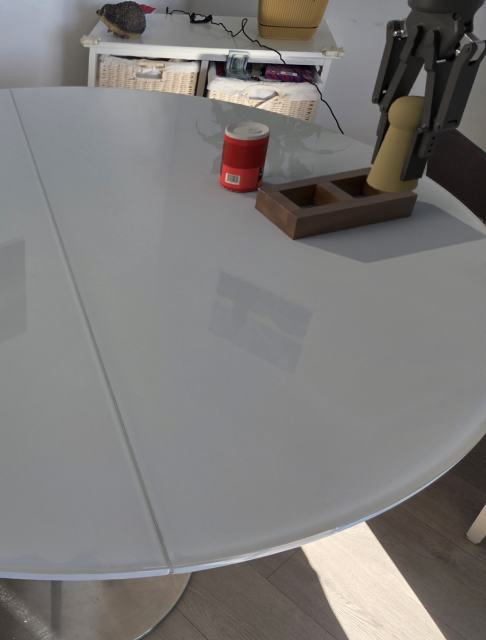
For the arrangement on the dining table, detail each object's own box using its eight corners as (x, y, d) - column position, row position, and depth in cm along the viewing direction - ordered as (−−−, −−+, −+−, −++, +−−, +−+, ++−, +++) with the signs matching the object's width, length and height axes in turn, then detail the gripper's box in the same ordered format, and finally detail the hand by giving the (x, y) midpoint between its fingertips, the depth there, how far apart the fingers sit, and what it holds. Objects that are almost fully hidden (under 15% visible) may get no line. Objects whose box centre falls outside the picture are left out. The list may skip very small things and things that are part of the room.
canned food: (266, 191, 121) (276, 134, 114) (224, 194, 122) (231, 138, 115) (254, 174, 127) (263, 119, 120) (214, 177, 127) (220, 123, 121)
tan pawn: (393, 196, 82) (419, 110, 75) (356, 180, 86) (377, 97, 79) (428, 185, 83) (456, 99, 76) (389, 169, 88) (413, 87, 81)
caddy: (411, 216, 110) (418, 194, 108) (292, 239, 107) (297, 218, 104) (364, 186, 120) (370, 166, 117) (254, 207, 117) (258, 187, 114)
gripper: (370, -39, 75) (328, 151, 90) (492, -16, 62) (419, 204, 76) (425, -47, 77) (375, 142, 91) (557, -26, 63) (473, 192, 77)
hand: (395, 170), depth 84 cm, fingers closed on tan pawn, 5 cm apart
